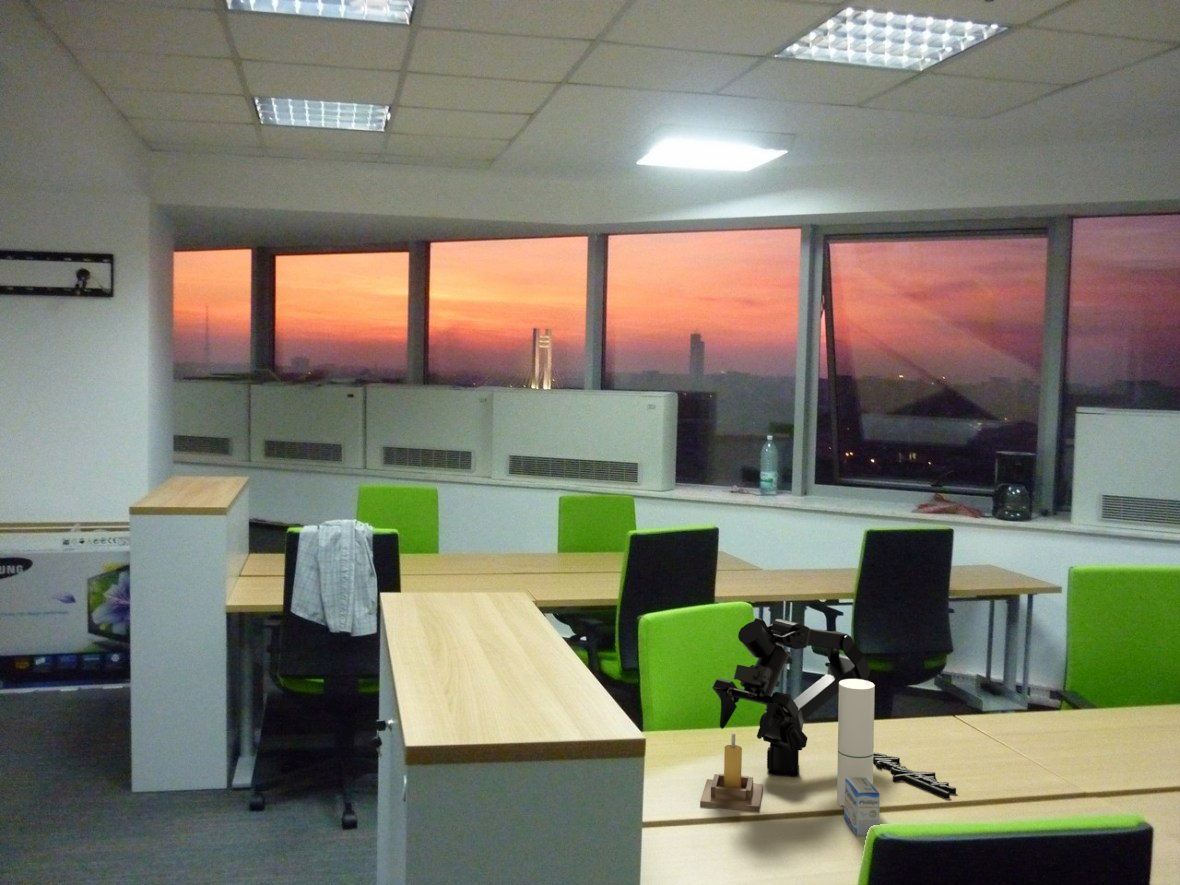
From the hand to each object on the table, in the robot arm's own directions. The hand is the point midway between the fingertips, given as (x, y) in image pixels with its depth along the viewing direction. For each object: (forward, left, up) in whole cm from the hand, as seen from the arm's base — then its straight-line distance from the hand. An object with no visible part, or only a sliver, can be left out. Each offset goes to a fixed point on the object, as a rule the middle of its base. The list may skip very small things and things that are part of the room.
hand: (739, 732), depth 219 cm
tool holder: (+1, +2, -13) cm, 13 cm away
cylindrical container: (-24, -1, -13) cm, 27 cm away
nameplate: (-35, -19, -14) cm, 42 cm away
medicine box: (-25, +11, -13) cm, 30 cm away
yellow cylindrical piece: (+1, +2, -12) cm, 12 cm away
